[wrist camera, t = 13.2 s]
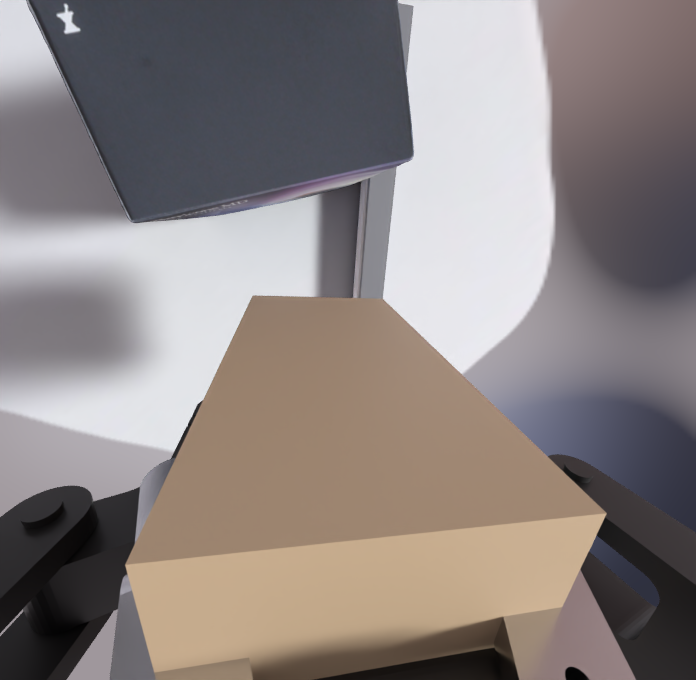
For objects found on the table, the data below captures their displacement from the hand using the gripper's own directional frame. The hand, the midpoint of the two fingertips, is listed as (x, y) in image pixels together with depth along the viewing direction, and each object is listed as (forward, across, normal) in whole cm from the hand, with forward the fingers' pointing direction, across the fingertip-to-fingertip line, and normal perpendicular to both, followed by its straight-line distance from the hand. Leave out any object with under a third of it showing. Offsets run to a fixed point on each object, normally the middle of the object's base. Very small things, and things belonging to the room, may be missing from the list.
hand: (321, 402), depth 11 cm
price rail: (+14, -4, -5) cm, 15 cm away
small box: (+14, +2, -10) cm, 17 cm away
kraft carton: (+2, 0, 0) cm, 2 cm away
